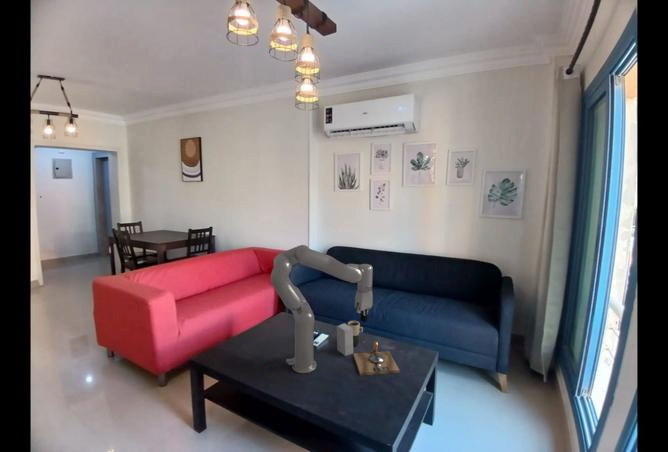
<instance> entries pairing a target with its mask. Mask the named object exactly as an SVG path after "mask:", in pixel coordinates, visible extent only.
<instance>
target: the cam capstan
mask: <svg viewBox="0 0 668 452" xmlns="http://www.w3.org/2000/svg"><path fill="white" fill-rule="evenodd" d="M372 352H373V353H374V354H371V355H370V356H369V359H370V361H371V362H373V363H377V368H381V364H379V363H383V362H384V361H385V357H384V356H383V355H381V354H378V352H379V341H377V340H374V341H373V351H372Z"/></svg>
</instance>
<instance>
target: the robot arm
mask: <svg viewBox="0 0 668 452" xmlns="http://www.w3.org/2000/svg"><path fill="white" fill-rule="evenodd" d="M296 264H301V265H302V266H305V267H308V268H312V269H314V270H318V271H321V272H323V273H326V274H328V275H331V276H333V277H335V278H337V279H339V280H342V281H346V282H349V283H352V284H356V283H357V290H356V291H355V292H356V293H355V298H354V309H355V310H356V313H357V314H360V317H359V318H360V319H359V320H360V322H363V323H366V322H368V314H369V310H370V309H372V307H373V305H374V303H373V302H374V297H373V295H374V294H373V270H374V269H373V266H372V265H371V264H369V263H361V264H356V263H347V264H345V263H343V262H341V261H339V260H337V259H336V258H334V257H333V256H331V255H330V254H329V255H328V254H325V253H322V252H320V251H317V250H314V249H311V248H310V247H309V246H308V245H306V244H301V245H297V246H294V247H292V248H290V249H288V250H285V251H282V252H280V253H279V254H277V255H276V256H274V259H273V267H272V271H271V273H270V282H271V285H272V286H273V288H274V290H275V291H276V293H277V295H278V296H279V298H280V299H281V300H282V302H283V304H284V306H285V307H286V308H287V309H288V310H290V311H291V313H292V315H293V318H294V357H292V358H286V360H285V361H286V364H288V366H291V368H292V370H293V371H294V372H296V373H299V374H308V373H312V372H314V371H315V370H317V365H318V363H317V361H316V360H314V359H315V357H314V356H315V354H314V353H315V351H314V346H315V345H314V344H315V343H314V342H315V341H314V338H315V337H314V334H315V333H314V332H315V331H314V329H315V328H314V327H315V315H314V312H313V310H312V308H311V306H310V304H309V303H308V301H307V299H306V298H305V297H304V295H303V294H302V291H300V289H299V288H298V286H295V285H294V284H293V282H292V280H291V279H290V277H289V276H290V273H291V271H292V268H293V266H294V265H296Z"/></svg>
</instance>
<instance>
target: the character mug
mask: <svg viewBox="0 0 668 452" xmlns="http://www.w3.org/2000/svg"><path fill="white" fill-rule="evenodd" d="M347 325H348V326H350V327H352V328H353V347H355V346H359V344H360V343H359V341H360V340H359V334H360V333H363V331H364V327H362V326H360V325H361V323H360V322H359V321H357V320H350V321H348V322H347Z"/></svg>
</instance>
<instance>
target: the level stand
mask: <svg viewBox="0 0 668 452" xmlns="http://www.w3.org/2000/svg"><path fill="white" fill-rule="evenodd" d="M371 354H374V353H373V351H372V352H356V353H355V352H353V354H352V355H353V359H354V362H355V365H356V366H357V367H356V368H357V370H358V373H359V376H360V377H361V376H374V375H375V376H376V375H388V374H390V373H391V374H400V368H399V367H398V365H397V363H396V361H395V359H394V358H393V356H392V354H391V352H390V351H388V350H387V351H378V354H381V355H383V356H384V357H385V361H384V362H383V363H379V364H381V368H377V363H373V362H371V361H370V359H369V356H370V355H371Z"/></svg>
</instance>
